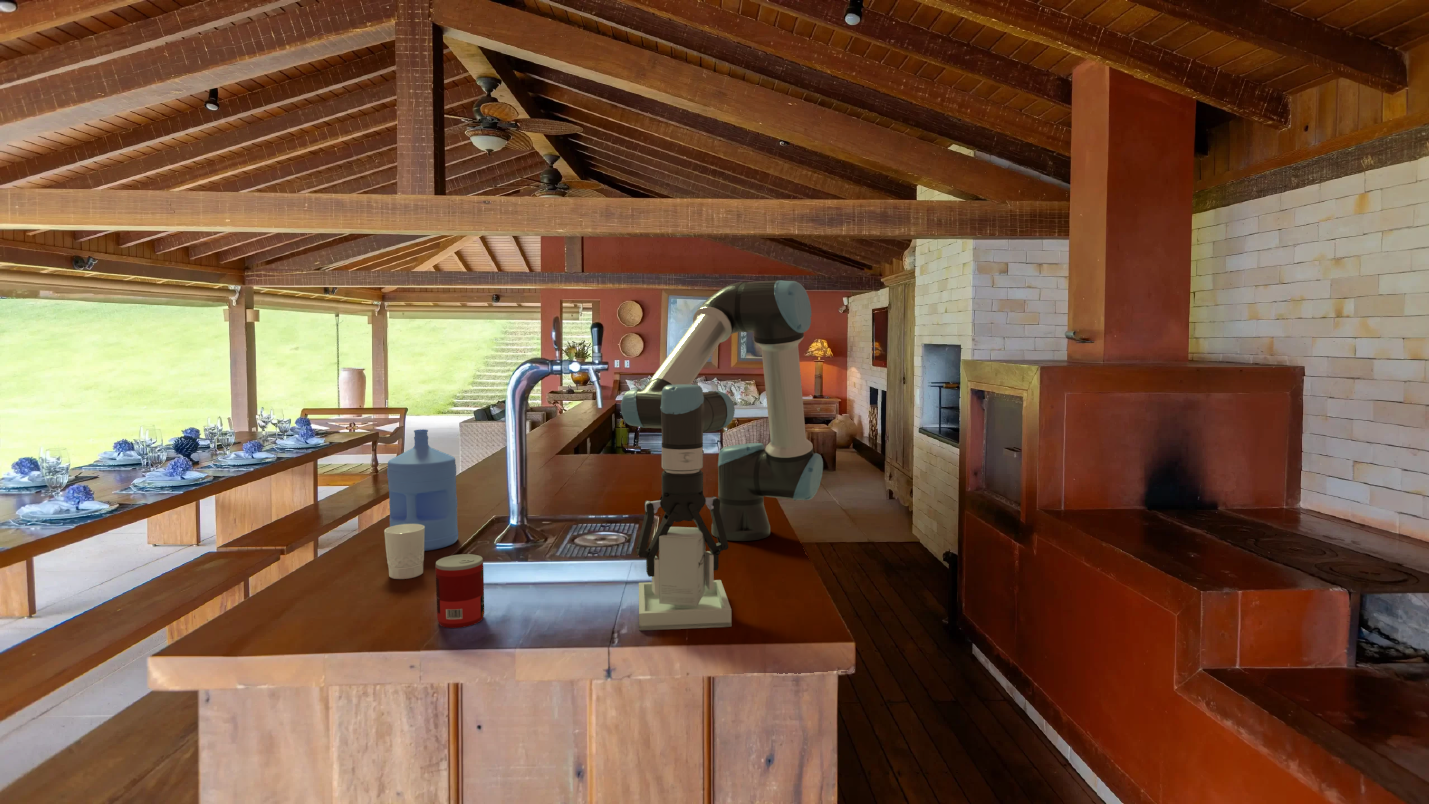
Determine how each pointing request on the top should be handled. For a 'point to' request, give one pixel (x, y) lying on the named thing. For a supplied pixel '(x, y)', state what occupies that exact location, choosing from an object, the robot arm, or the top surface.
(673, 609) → the sage tray
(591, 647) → the top surface
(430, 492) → the water jug
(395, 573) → the white cup
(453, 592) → the canned food
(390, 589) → the top surface
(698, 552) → the supplement box
